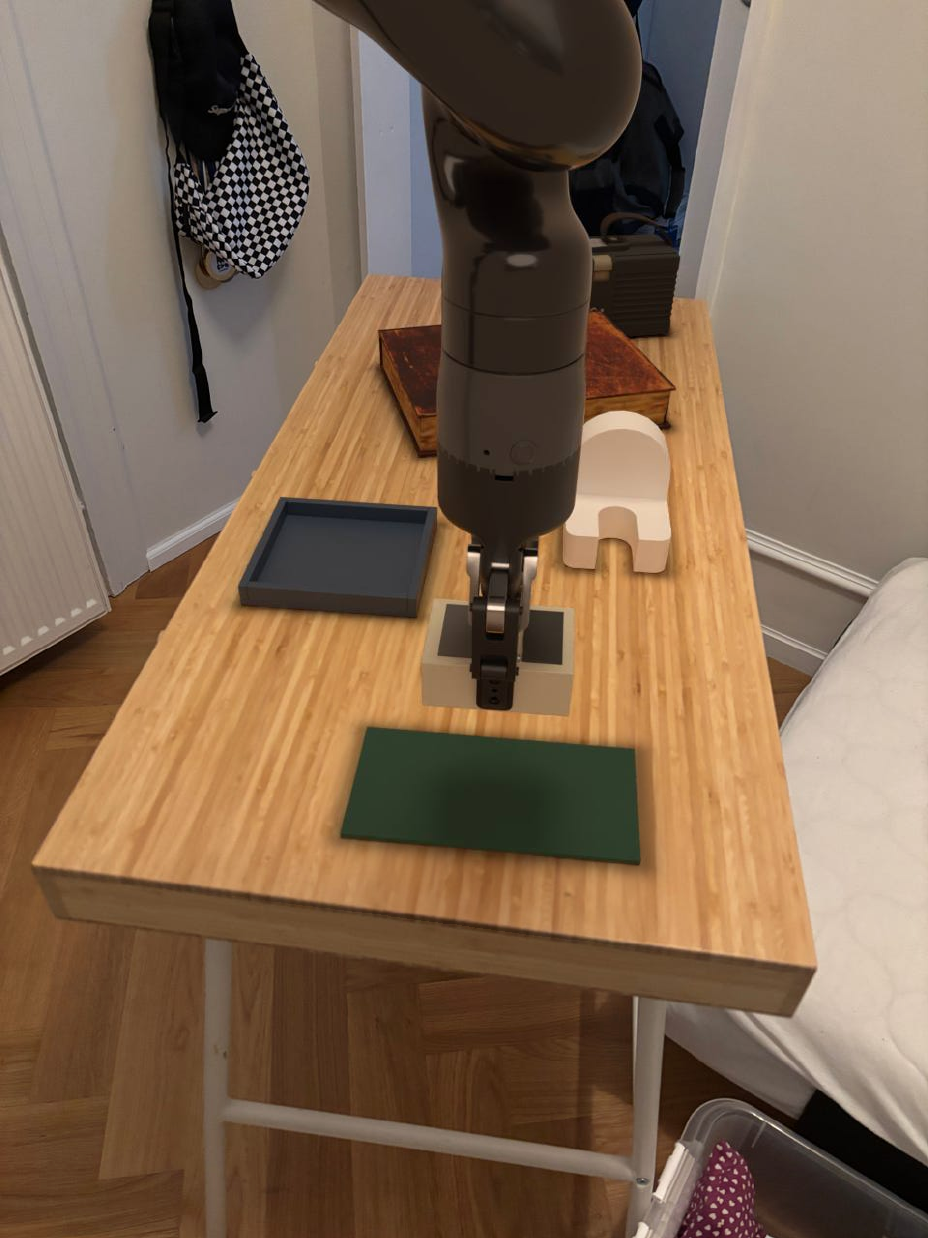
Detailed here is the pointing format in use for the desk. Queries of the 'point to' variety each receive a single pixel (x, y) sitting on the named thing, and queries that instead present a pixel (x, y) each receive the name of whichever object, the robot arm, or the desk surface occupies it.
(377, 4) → the robot arm
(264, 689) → the desk surface
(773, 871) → the desk surface
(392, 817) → the mat
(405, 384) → the book
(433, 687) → the beige rectangular block
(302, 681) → the desk surface
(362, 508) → the tray
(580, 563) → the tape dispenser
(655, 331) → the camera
